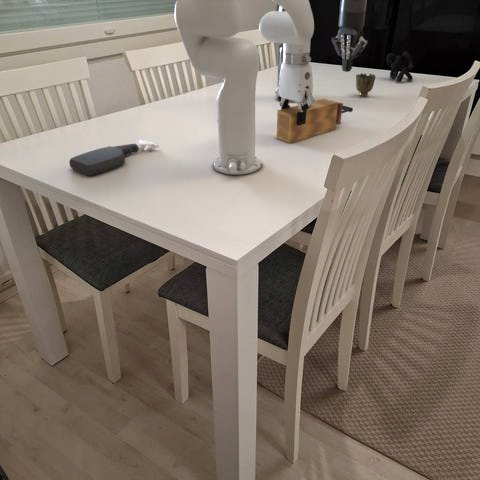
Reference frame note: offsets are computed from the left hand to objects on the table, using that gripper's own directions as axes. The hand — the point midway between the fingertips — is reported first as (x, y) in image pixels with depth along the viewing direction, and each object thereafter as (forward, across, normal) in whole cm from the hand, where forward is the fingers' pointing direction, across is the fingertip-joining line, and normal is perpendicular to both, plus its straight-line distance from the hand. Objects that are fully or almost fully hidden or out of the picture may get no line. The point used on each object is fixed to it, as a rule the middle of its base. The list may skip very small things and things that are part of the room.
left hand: (293, 121), depth 135 cm
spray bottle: (+5, +19, +50) cm, 53 cm away
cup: (+5, +17, -56) cm, 58 cm away
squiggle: (+5, +24, -90) cm, 93 cm away
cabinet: (+5, 0, -6) cm, 8 cm away
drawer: (+4, 0, -13) cm, 14 cm away
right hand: (-11, 0, -22) cm, 25 cm away
